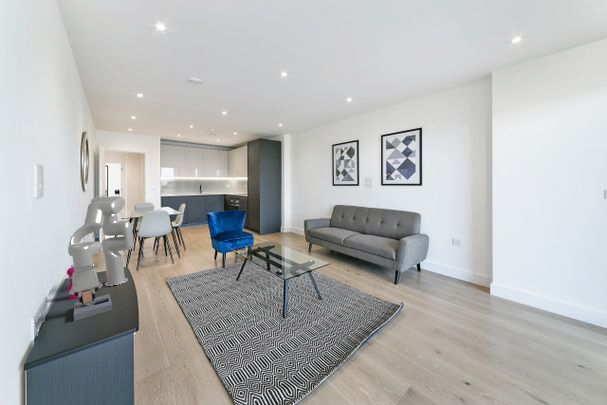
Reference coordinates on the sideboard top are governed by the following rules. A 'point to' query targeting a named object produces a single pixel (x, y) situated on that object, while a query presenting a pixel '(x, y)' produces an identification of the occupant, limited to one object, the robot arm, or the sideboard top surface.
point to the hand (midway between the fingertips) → (87, 301)
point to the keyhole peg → (87, 297)
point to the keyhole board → (92, 307)
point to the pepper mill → (70, 273)
